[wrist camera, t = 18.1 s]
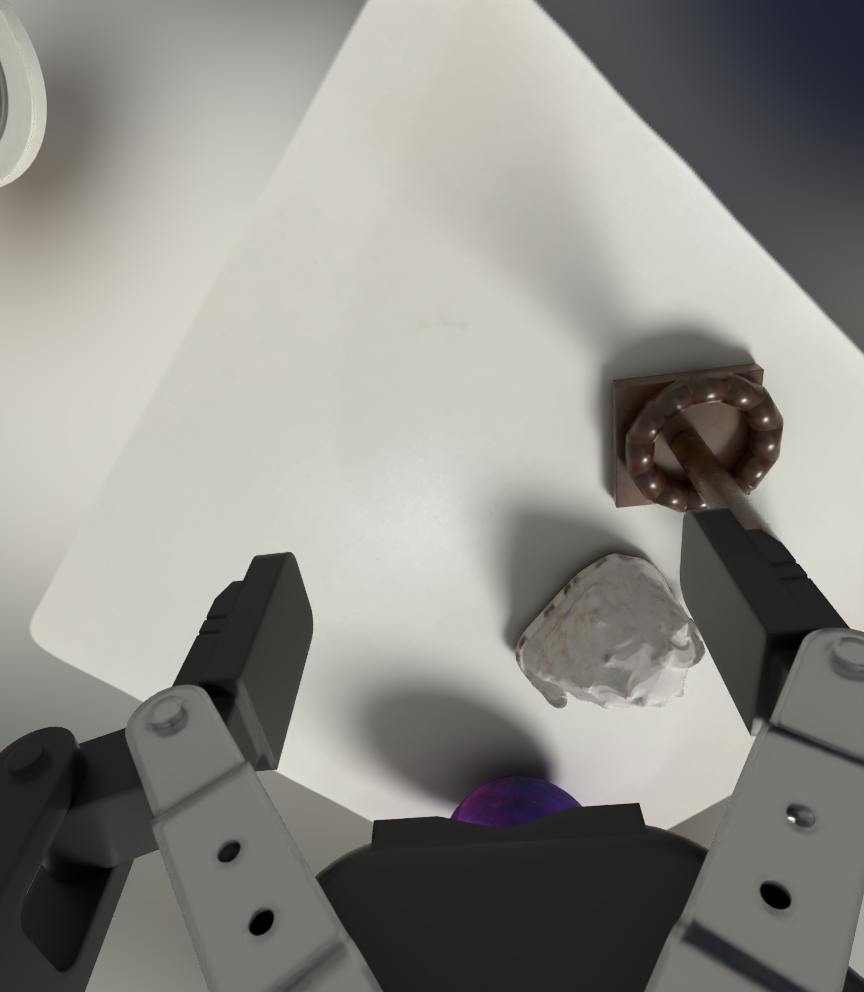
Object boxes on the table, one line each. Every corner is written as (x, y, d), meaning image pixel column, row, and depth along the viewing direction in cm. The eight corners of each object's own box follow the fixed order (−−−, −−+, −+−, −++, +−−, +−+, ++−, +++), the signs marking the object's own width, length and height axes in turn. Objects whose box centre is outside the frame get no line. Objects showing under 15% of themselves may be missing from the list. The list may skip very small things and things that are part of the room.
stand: (612, 499, 46) (683, 678, 31) (611, 380, 41) (693, 522, 26) (743, 486, 45) (881, 665, 30) (756, 362, 40) (925, 500, 25)
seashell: (501, 657, 54) (508, 758, 45) (582, 530, 47) (607, 621, 39) (628, 700, 56) (658, 805, 47) (723, 584, 49) (778, 682, 40)
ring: (623, 509, 45) (628, 522, 43) (622, 379, 40) (628, 389, 38) (766, 494, 44) (777, 508, 42) (783, 359, 39) (796, 368, 37)
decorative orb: (531, 855, 68) (546, 1026, 55) (412, 801, 64) (398, 971, 51) (627, 782, 61) (670, 958, 48) (500, 718, 58) (509, 890, 45)
